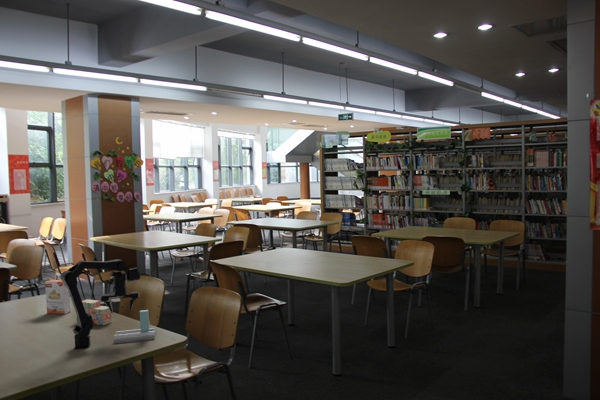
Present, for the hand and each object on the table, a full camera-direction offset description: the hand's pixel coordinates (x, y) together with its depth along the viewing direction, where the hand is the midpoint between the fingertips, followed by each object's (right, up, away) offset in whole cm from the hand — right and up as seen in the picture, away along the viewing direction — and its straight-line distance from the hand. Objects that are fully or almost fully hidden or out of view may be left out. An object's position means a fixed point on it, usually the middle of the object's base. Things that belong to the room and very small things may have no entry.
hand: (121, 312), depth 261 cm
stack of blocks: (-27, -13, +31) cm, 43 cm away
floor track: (+8, -13, -3) cm, 16 cm away
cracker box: (-60, -13, +55) cm, 83 cm away
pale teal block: (+13, -12, -2) cm, 18 cm away
